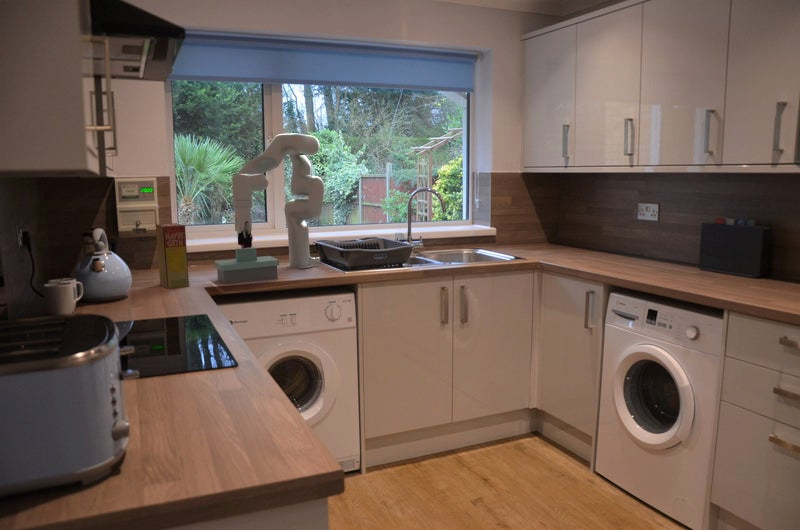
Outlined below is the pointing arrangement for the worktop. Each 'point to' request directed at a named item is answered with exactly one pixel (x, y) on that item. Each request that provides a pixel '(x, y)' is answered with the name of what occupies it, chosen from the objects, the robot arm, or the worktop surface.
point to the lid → (246, 260)
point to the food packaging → (172, 255)
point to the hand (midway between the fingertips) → (244, 245)
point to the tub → (247, 275)
